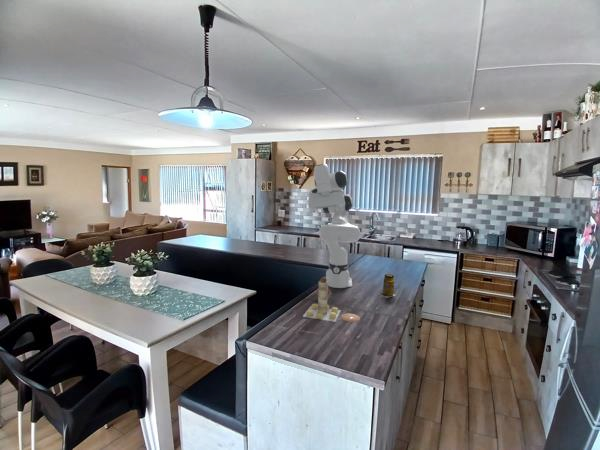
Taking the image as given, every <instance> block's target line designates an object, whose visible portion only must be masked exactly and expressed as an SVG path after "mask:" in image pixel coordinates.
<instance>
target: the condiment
mask: <svg viewBox="0 0 600 450" xmlns="http://www.w3.org/2000/svg"><path fill="white" fill-rule="evenodd" d="M382 285H383V287H382V292H379V293H377V295H378V296H381V297H382V298H386V299H387V298H391V297H395V296H397V294H395V293H394V289H395V276H394V274H391V273H386V274H385V275H384V278H383V284H382Z"/></svg>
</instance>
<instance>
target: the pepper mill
mask: <svg viewBox="0 0 600 450" xmlns="http://www.w3.org/2000/svg"><path fill="white" fill-rule="evenodd" d="M328 288H329V286H328V282H327V279H326V276H322V277H321V278H320V279H319V280H318V288H317V290H318V295H317V304H318V312H320V313H323V315H326V314H327V305H328V300H327V297H328Z"/></svg>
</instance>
